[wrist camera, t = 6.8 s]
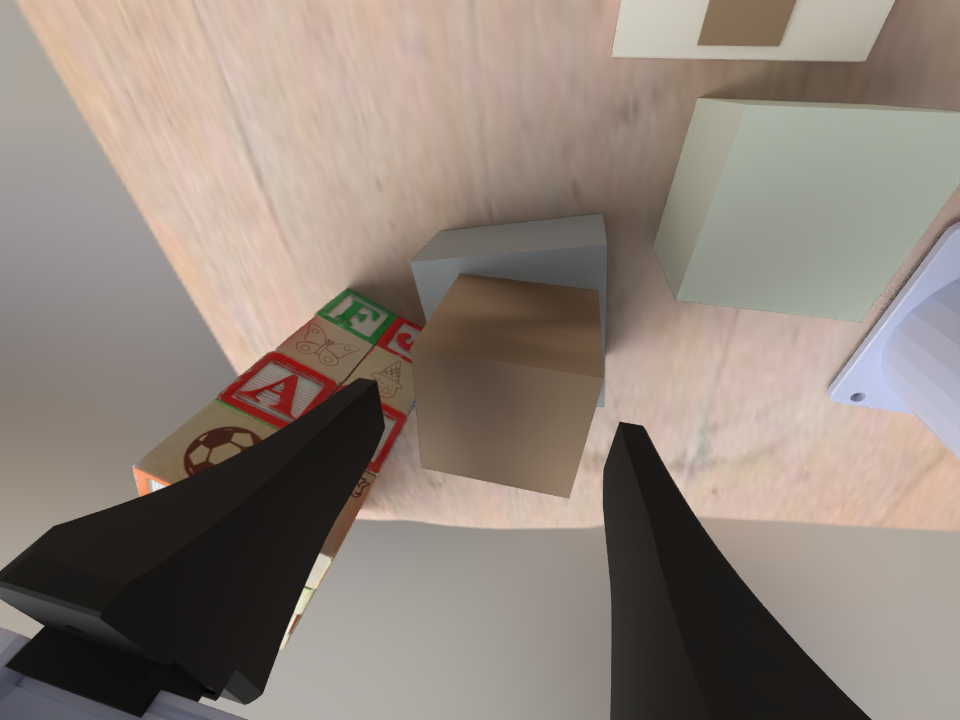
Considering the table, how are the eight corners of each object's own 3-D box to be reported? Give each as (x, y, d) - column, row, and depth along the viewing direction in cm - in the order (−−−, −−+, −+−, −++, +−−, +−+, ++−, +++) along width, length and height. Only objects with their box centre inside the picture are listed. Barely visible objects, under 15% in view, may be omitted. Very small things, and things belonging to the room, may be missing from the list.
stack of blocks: (358, 510, 34) (266, 683, 24) (292, 478, 33) (170, 644, 23) (450, 339, 21) (332, 567, 11) (345, 282, 20) (120, 471, 10)
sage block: (868, 104, 12) (1008, 115, 8) (787, 258, 15) (860, 322, 11) (697, 97, 13) (747, 104, 9) (652, 245, 16) (675, 300, 12)
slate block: (602, 211, 15) (607, 244, 12) (600, 353, 19) (604, 406, 16) (441, 229, 17) (409, 262, 14) (469, 355, 21) (448, 403, 18)
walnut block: (598, 290, 13) (604, 378, 9) (573, 397, 16) (569, 498, 12) (459, 273, 14) (410, 347, 10) (459, 378, 17) (421, 468, 13)
